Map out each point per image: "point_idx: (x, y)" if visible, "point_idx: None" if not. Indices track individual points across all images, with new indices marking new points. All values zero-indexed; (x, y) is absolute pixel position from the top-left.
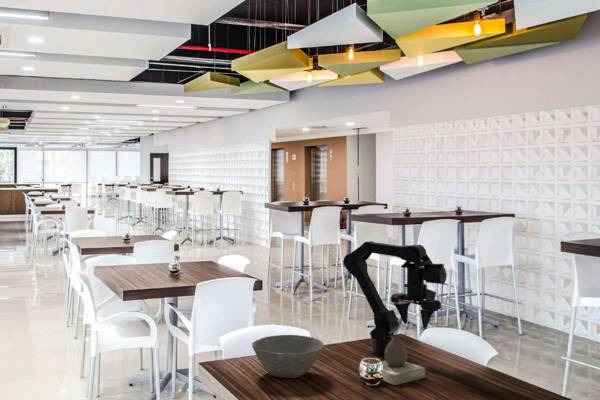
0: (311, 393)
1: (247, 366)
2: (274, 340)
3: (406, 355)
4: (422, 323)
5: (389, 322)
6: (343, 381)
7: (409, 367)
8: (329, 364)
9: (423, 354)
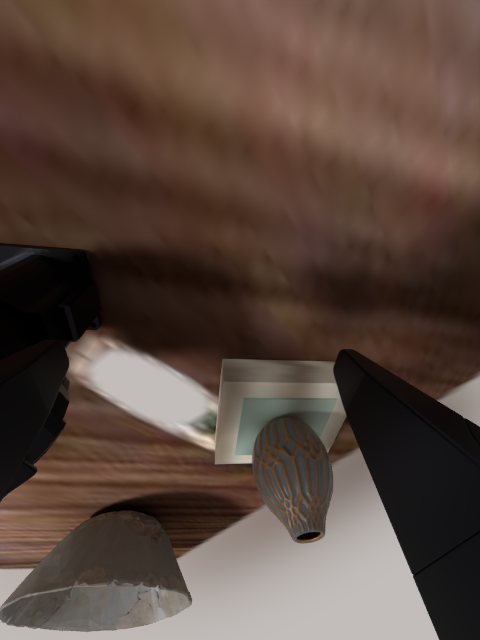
0: (232, 522)
1: (38, 541)
2: (18, 603)
3: (326, 451)
4: (355, 431)
5: (27, 472)
6: (221, 482)
7: (324, 415)
8: (96, 459)
9: (153, 93)
